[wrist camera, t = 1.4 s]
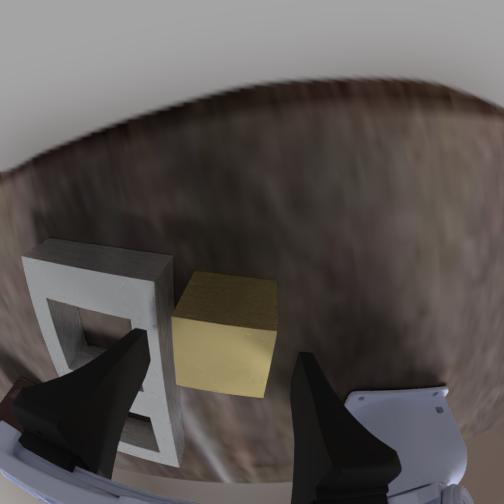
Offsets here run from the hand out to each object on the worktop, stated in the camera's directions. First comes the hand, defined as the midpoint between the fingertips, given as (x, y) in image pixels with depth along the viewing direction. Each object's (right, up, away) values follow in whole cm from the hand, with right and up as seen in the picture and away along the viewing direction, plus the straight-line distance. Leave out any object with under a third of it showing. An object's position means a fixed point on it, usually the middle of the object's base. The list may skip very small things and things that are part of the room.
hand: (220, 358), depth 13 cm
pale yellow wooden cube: (0, +2, +4) cm, 4 cm away
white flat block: (-8, -4, +7) cm, 11 cm away
